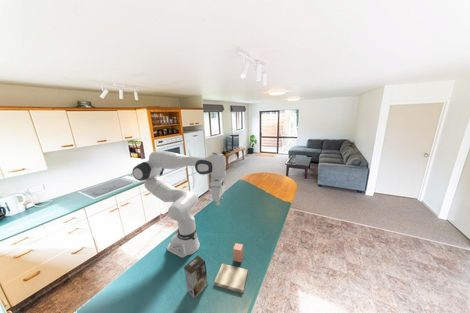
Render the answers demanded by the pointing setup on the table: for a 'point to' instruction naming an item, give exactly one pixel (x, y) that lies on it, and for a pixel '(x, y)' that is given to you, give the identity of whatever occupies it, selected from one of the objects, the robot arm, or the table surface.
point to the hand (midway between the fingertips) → (219, 202)
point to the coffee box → (196, 276)
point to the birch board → (231, 277)
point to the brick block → (238, 252)
